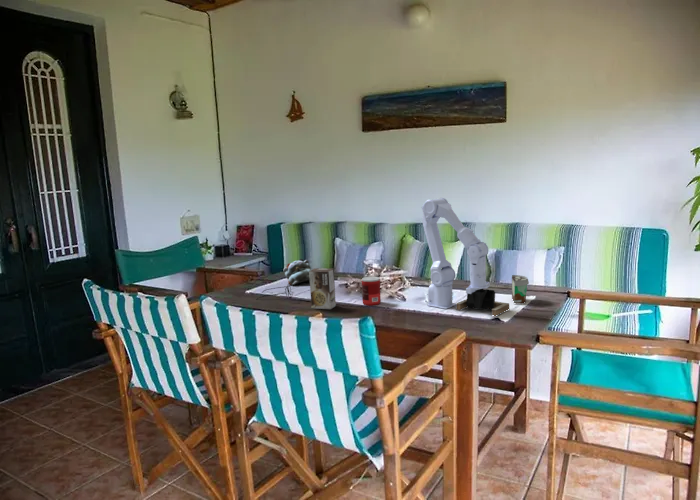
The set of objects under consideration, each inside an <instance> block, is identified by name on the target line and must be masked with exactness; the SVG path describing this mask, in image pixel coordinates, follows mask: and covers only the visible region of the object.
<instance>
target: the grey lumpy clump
mask: <svg viewBox="0 0 700 500" xmlns="http://www.w3.org/2000/svg"><path fill="white" fill-rule="evenodd" d="M282 270H283V273H284V276H285V277H286V279H287V281H288V282H287V284H288V283H290V287H291V286H292V287H293V286H294V285H297V284H301V283H305V282H310V278H309V271H311V270H312V268H311V265H310V261H309V260H308V259H305V260H304V259H303V258H300V259H298V260H294V261H292V262H291V263H290V262H289V263H287V264H286V266H285V267H284V268H283V269H282Z"/></svg>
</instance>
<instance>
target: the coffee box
mask: <svg viewBox="0 0 700 500" xmlns="http://www.w3.org/2000/svg"><path fill="white" fill-rule="evenodd" d="M309 278H310V281H309V289H310V290H309V291H310V304H311V305H310V306H311V307H310V308H311V309H315V310H317V309H318V310H319V309H320V310H321V309H322V310H332V309H333V308H335V307H336V306H337V303H336V302H337V301H336V288H335V287H336V286H335V285H336V284H335V283H336V282H335V268H320V267H319V268H313V269H311V271H309Z"/></svg>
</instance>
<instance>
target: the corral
mask: <svg viewBox="0 0 700 500" xmlns="http://www.w3.org/2000/svg"><path fill="white" fill-rule="evenodd" d="M466 303H467V298H466V299H463V300H461V301H458V302H456V304H457V305H456V311H461V309H462V310H464V309H466V307H467V306H466ZM467 308H468V307H467ZM508 309H509V310H510V303H507V302H502V301H496V300H495V305H494V308H493V309H491V316H492V315H494V316H496V315H498V314H500V313H502V312H504V311H506V310H508ZM504 313H505V312H504ZM502 314H503V313H502ZM500 315H501V314H500ZM494 316H493V317H494ZM498 316H499V315H498ZM496 317H497V316H496Z"/></svg>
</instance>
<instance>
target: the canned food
mask: <svg viewBox="0 0 700 500" xmlns="http://www.w3.org/2000/svg"><path fill="white" fill-rule="evenodd" d="M361 293H362V294H361V297H362V299H361V300H362V304H363V305H364V306H369V307H370V306H378V305H380V304H381V300H382V299H381V298H382V297H381V278H380V277H379V276H364V277H362V278H361Z"/></svg>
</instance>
